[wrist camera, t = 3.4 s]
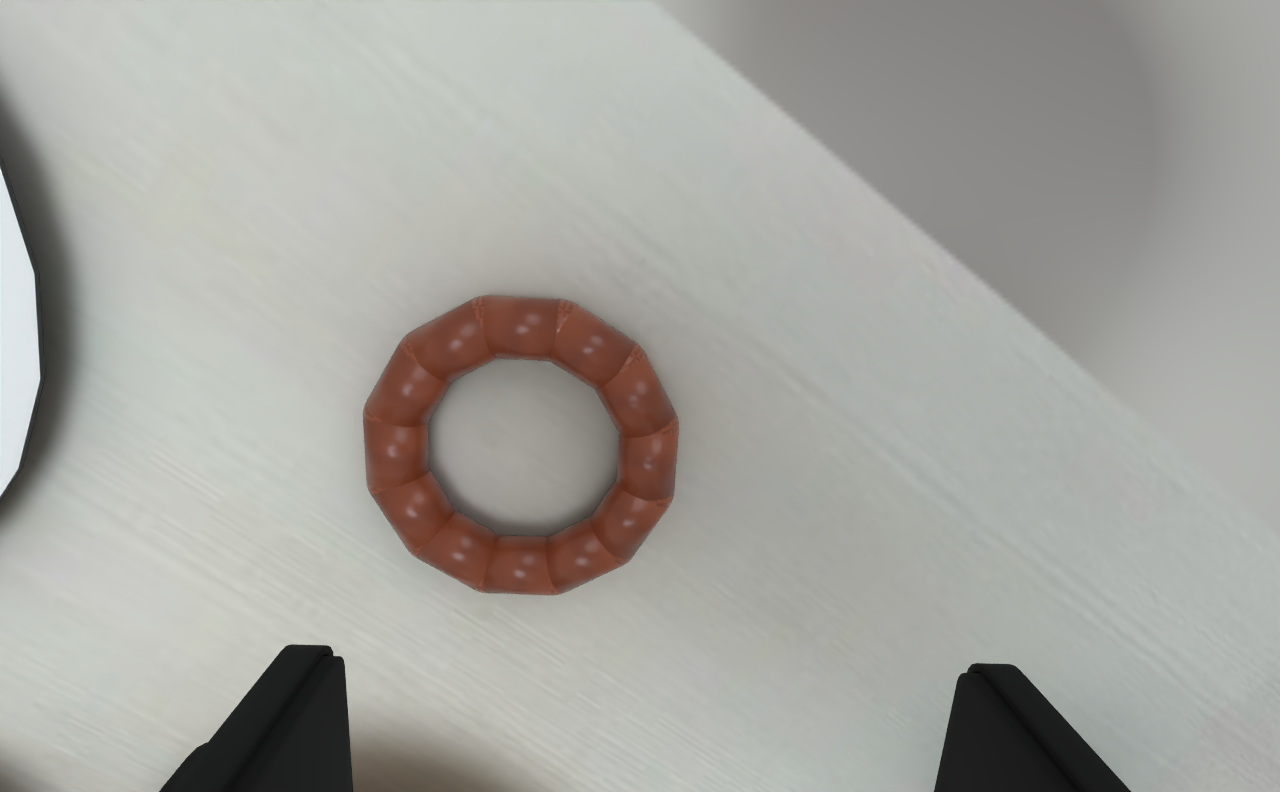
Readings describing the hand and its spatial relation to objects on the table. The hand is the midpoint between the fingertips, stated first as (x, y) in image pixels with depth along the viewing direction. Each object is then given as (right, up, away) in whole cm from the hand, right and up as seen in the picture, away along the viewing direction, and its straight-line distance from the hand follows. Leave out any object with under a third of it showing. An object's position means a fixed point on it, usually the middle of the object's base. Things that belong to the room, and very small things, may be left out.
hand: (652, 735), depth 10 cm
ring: (-4, +3, +12) cm, 13 cm away
